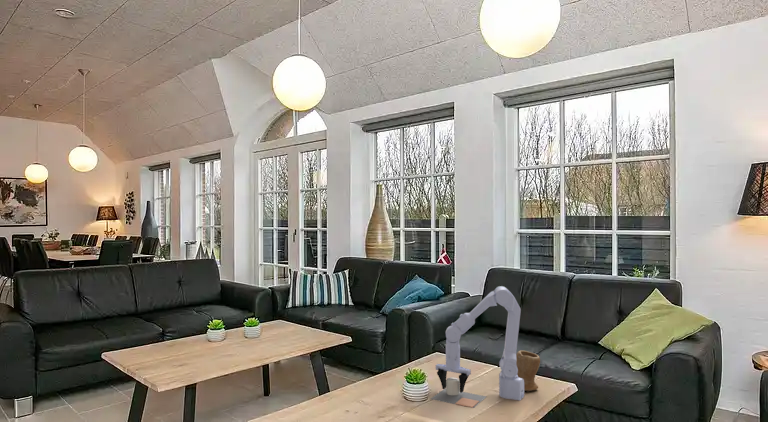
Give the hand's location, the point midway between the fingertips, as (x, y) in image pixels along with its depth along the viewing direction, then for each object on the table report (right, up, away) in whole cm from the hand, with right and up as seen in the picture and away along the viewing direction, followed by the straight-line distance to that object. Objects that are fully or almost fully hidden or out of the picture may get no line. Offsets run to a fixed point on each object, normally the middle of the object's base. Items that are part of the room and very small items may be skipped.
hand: (452, 390), depth 206 cm
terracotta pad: (+4, -1, -11) cm, 11 cm away
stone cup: (+32, -3, +11) cm, 34 cm away
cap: (0, -1, 0) cm, 1 cm away
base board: (+2, -2, -5) cm, 6 cm away
